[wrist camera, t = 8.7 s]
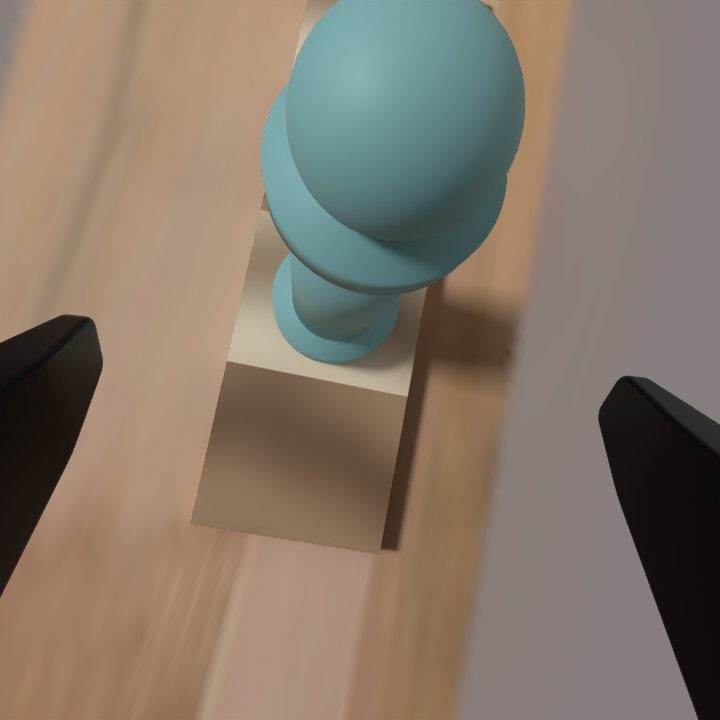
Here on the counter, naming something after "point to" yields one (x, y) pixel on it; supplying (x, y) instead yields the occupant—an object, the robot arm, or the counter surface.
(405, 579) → the counter surface
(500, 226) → the counter surface
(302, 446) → the board
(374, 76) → the pawn
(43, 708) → the counter surface
